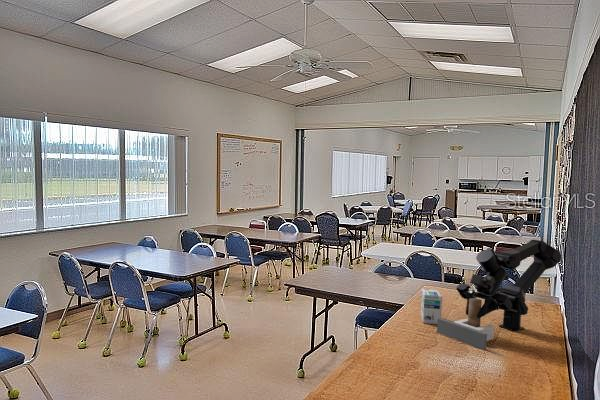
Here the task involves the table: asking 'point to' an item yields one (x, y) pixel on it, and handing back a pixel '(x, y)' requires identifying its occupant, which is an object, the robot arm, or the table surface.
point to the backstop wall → (462, 333)
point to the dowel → (474, 312)
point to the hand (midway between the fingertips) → (472, 316)
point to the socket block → (479, 328)
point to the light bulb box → (431, 306)
